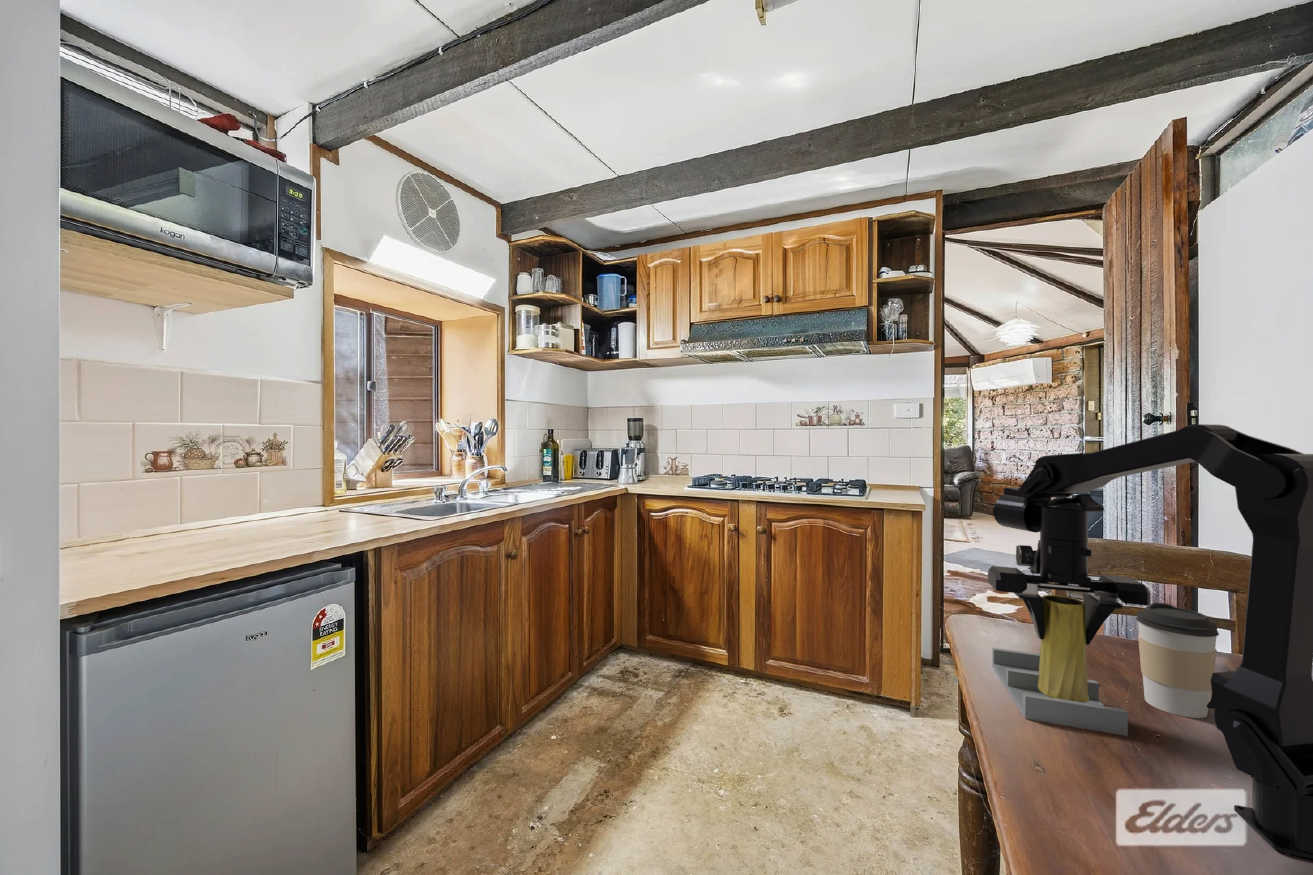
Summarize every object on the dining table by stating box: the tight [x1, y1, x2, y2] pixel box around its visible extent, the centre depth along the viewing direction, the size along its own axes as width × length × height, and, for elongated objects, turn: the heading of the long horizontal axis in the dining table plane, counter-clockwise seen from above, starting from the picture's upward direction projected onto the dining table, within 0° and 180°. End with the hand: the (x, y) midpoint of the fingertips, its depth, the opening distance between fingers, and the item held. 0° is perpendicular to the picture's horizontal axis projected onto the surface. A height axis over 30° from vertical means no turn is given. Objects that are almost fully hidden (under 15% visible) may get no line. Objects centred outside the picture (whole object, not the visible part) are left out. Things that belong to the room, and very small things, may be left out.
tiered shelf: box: [991, 647, 1129, 737], centre depth 83 cm, size 19×12×3 cm, turn 159°
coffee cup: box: [1135, 602, 1220, 719], centre depth 80 cm, size 9×9×15 cm
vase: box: [1038, 594, 1089, 703], centre depth 79 cm, size 6×6×14 cm
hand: (1063, 641), depth 79 cm, fingers closed on vase, 5 cm apart
